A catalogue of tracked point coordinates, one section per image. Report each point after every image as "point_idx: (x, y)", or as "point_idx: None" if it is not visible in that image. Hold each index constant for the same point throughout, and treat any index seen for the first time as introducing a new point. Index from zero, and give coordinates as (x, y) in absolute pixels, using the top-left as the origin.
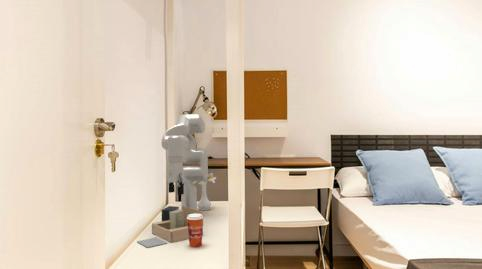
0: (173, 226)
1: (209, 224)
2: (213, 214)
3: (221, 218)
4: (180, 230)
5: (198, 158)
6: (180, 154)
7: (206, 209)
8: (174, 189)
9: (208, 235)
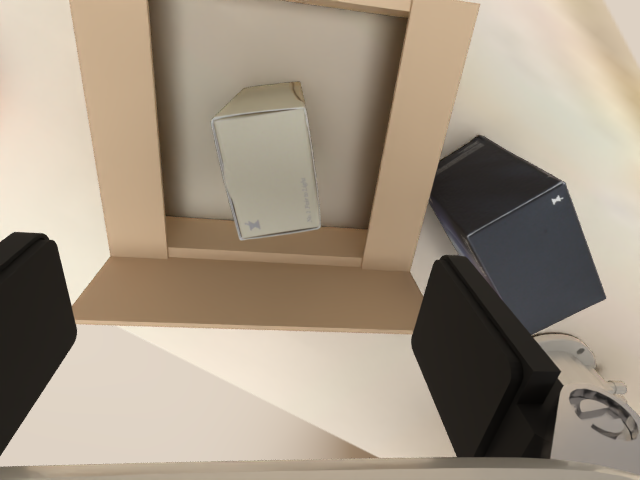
0: (250, 93)
1: (321, 361)
2: None
3: (367, 441)
4: (82, 56)
5: None
6: None
7: None
8: (425, 378)
9: None
